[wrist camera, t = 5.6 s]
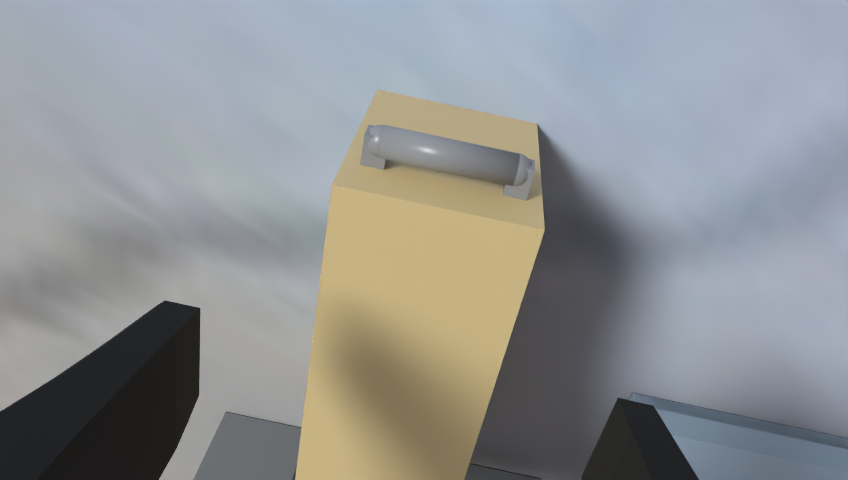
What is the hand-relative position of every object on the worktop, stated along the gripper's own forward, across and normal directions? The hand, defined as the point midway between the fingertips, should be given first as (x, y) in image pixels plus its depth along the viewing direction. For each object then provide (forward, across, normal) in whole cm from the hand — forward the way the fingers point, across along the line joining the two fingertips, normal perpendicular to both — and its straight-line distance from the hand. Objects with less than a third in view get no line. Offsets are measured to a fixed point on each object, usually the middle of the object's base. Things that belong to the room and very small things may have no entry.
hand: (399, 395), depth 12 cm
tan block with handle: (+9, 0, +3) cm, 9 cm away
